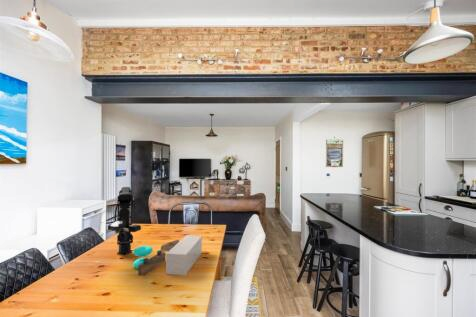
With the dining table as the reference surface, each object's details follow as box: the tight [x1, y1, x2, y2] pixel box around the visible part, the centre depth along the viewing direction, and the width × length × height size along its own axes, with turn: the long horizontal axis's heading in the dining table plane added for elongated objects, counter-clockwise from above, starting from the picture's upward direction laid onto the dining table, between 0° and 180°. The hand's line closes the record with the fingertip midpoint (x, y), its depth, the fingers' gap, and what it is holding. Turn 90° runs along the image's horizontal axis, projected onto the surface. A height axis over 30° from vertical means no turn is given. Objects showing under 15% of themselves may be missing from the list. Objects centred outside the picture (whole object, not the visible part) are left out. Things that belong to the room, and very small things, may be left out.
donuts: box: [132, 245, 153, 270], centre depth 138 cm, size 10×10×10 cm
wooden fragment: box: [160, 239, 181, 253], centre depth 172 cm, size 26×11×1 cm, turn 166°
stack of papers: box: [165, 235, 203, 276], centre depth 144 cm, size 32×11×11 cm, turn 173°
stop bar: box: [137, 249, 166, 276], centre depth 136 cm, size 3×20×7 cm, turn 163°
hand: (124, 242), depth 141 cm, fingers closed
